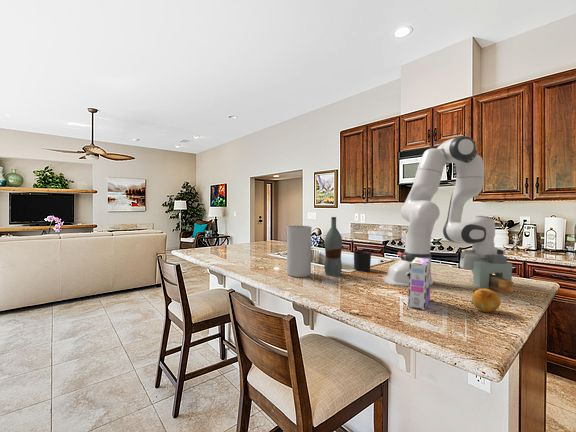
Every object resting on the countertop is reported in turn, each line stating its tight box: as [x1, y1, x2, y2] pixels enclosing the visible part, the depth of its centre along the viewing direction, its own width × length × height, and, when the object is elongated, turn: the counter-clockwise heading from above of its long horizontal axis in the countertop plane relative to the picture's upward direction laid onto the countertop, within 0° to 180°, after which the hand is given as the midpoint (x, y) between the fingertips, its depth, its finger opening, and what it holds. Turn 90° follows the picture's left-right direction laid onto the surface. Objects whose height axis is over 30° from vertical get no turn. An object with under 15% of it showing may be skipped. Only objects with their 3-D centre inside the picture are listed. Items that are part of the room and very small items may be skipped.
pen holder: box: [353, 250, 372, 272], centre depth 168 cm, size 9×9×10 cm
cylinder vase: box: [286, 225, 312, 278], centre depth 155 cm, size 12×12×25 cm
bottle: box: [323, 216, 343, 277], centre depth 157 cm, size 9×9×30 cm
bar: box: [489, 273, 514, 294], centre depth 136 cm, size 4×20×5 cm, turn 0°
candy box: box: [407, 258, 432, 311], centre depth 112 cm, size 14×6×16 cm, turn 148°
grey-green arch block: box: [472, 255, 513, 289], centre depth 136 cm, size 14×5×14 cm, turn 90°
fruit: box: [471, 288, 501, 313], centre depth 105 cm, size 8×8×8 cm
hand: (481, 278), depth 143 cm, fingers closed on bar, 4 cm apart
